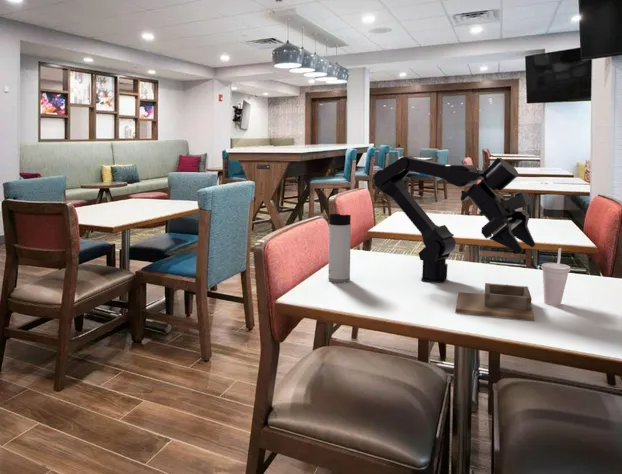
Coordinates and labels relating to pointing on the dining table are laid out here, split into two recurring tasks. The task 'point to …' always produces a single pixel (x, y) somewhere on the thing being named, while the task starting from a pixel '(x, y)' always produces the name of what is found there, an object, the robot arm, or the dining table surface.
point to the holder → (497, 302)
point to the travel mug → (339, 248)
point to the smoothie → (554, 281)
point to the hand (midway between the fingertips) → (527, 249)
